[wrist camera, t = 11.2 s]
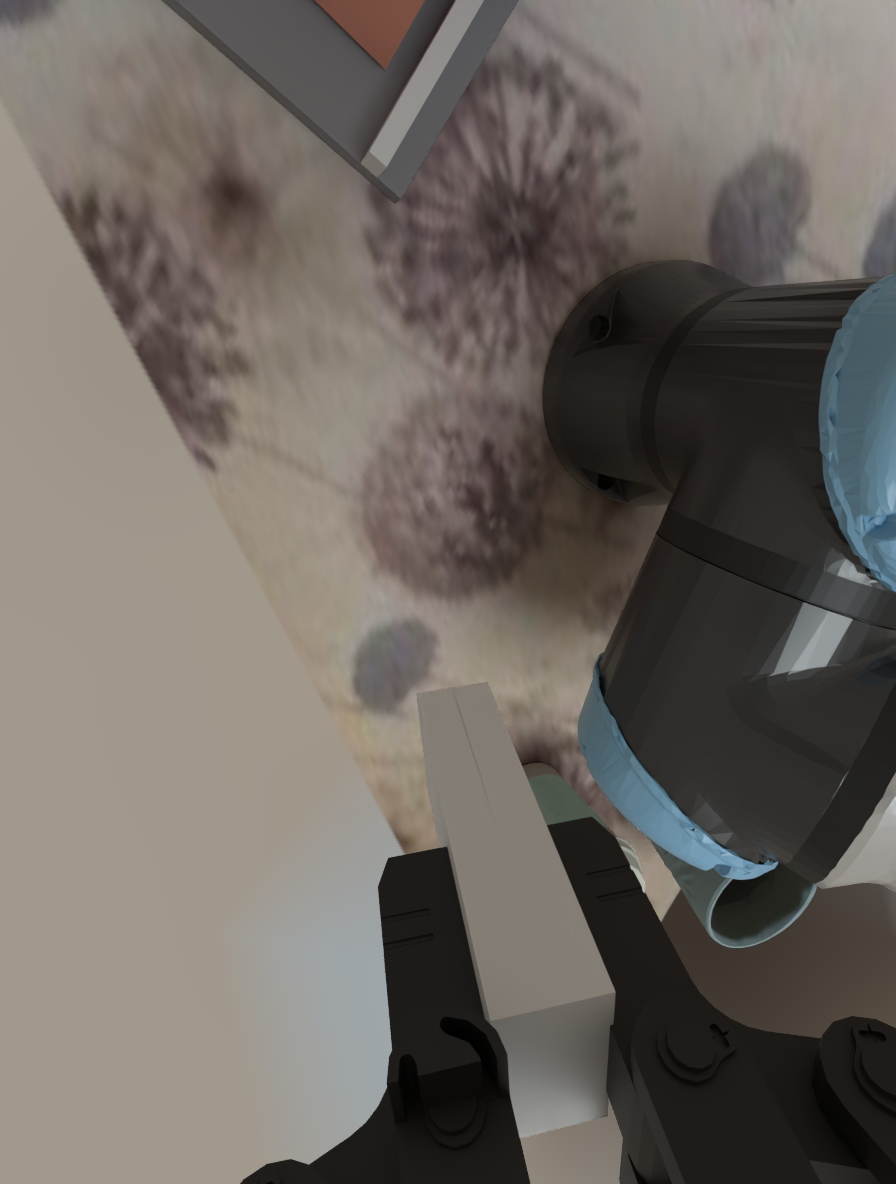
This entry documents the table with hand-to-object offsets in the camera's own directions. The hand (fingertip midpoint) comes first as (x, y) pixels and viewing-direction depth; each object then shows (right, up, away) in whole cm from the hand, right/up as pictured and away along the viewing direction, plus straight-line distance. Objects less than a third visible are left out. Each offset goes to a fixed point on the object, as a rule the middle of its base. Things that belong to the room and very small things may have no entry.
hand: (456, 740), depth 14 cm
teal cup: (+21, -16, +46) cm, 53 cm away
